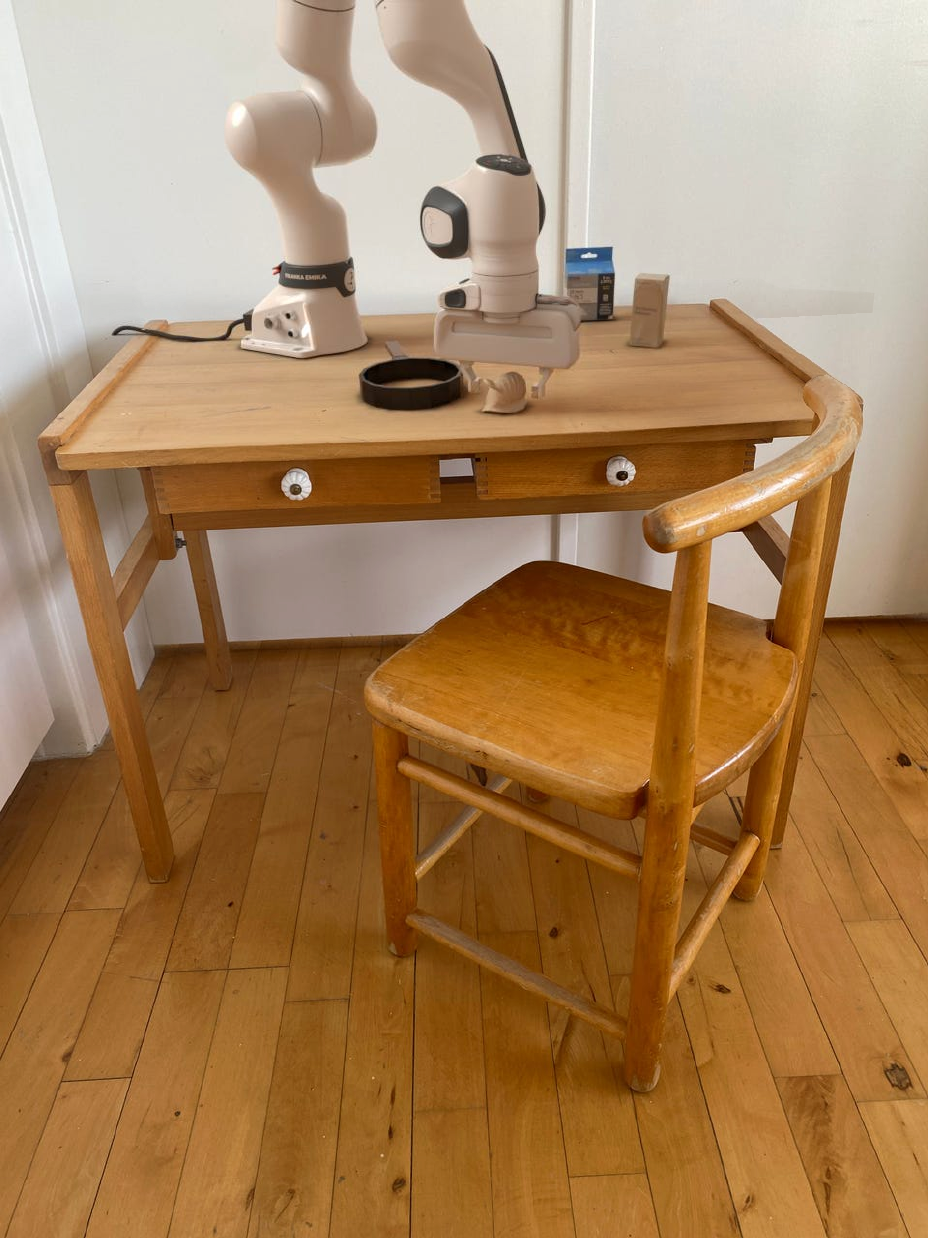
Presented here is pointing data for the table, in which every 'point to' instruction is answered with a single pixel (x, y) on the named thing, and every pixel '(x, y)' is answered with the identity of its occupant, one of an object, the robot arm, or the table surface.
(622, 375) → the table surface
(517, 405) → the decorative ornament
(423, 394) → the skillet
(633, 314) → the box
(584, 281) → the label tape box
